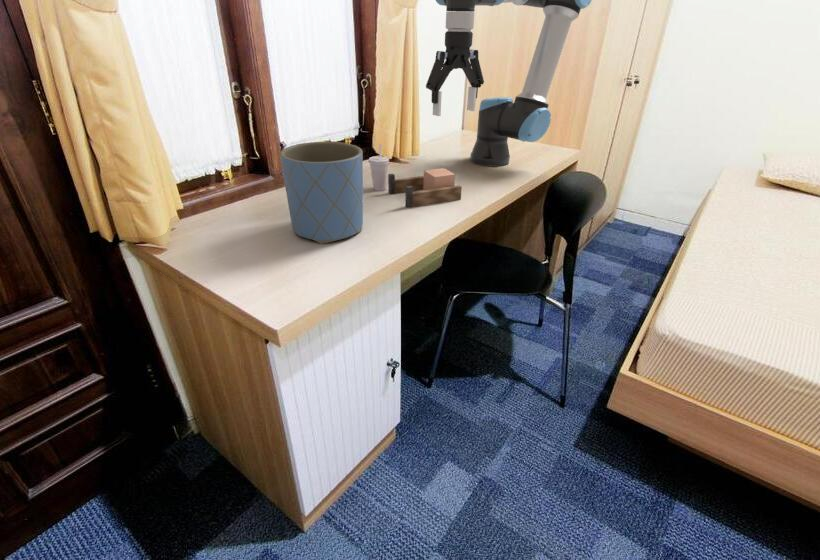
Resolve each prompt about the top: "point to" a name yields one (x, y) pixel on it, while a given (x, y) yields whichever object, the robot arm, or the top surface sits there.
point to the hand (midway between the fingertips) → (454, 113)
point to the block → (438, 179)
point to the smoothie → (379, 171)
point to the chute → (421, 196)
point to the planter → (324, 189)
